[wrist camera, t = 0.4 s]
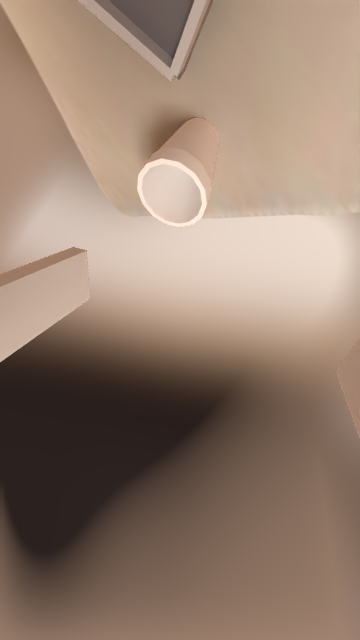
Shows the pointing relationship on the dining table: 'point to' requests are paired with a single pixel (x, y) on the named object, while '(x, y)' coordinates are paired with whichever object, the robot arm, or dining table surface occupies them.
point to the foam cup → (181, 174)
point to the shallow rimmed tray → (155, 28)
